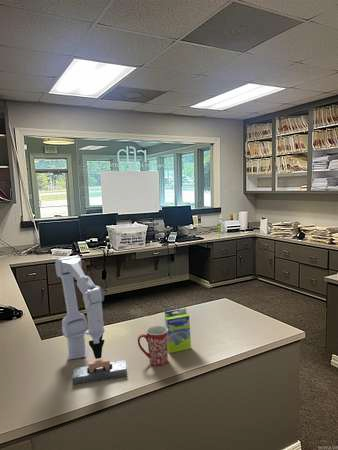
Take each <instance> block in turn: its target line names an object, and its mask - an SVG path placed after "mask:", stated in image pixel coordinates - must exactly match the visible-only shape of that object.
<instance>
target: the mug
mask: <svg viewBox="0 0 338 450" xmlns="http://www.w3.org/2000/svg"><path fill="white" fill-rule="evenodd" d="M145 333H146V334H145ZM145 333H144V334H139V335H138V337H137V345H138V347H139V349H140V351H142V353H143V354H144V355H145V356H146V357H147V358H148V359H149V363H150V364H151V365H152V366H155V367H156V366H157V367H158V366H159V367H160V366H163V365H165V364H167V363H168V361H169V360H168V359H169V358H168V356H169V355H168V354H169V352H168V335H167V334H168V328H166V326H164V325H154V326H153V325H152V326H150V327H148V328H146V330H145ZM141 338H144V339H145V340H146V342H147V347H148V352H147V351H146V350H145V349H144V347H142V345H141V341H140V340H141Z"/></svg>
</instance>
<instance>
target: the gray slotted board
mask: <svg viewBox="0 0 338 450" xmlns="http://www.w3.org/2000/svg"><path fill="white" fill-rule="evenodd" d="M127 376H128V371H127V364H126V360H125V359H123V360H117V361H110V370H105V367H101V368H95V369H94V372H93V373H90V372H89V367H88V365H85V366H80V367H74V368H73V372H72V376H71V378H72V379H71V380H72V386H73V385H74V386H78V384H80V385H86V384H91V383H95V382H96V381H97V382H102V380H103V381H108V380H113V379H119V378H124V377H127ZM90 382H91V383H90Z"/></svg>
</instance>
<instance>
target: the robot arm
mask: <svg viewBox="0 0 338 450" xmlns="http://www.w3.org/2000/svg"><path fill="white" fill-rule="evenodd" d="M54 264H55V265H54V266H55V273H56V276H57V278H60V279H61V284H62V290H63V296H64V302H65V309H66V315H65V316H64V317H63V318H62V320H61V331H62V335H63V336H64V338H67V339H66V340H67V347H68V348H67V349H68V355H67V360H68V361H70V360H76V359H82V357H83V358H86V357H87V355H88V346H86V342H85V341H86V340H85V339H86V338H85V335H89V337H91V339H92V340H89V341H88V345H89V346H90V348H91V350H92V353H93V356H94V359H95V360H100V359H101V358H102V353H103V347H104V344H105V339H103V335H104V333H105V331H106V330H105V327H104V315H103V313H104V312H103V304H102V303H103V302H104V300H105V294H104V291H103V289H102V287H101V286H98V285H96V284H95V283H94V282H93V280H92V278H91V277H90V276H89V275H86V274H85V272H84V270H83V268H82V265H83V263H82V258H81V257H80V255H78V254H76V255H71V256H66V257H60V258H59V257H58V258H56V259H55V263H54ZM74 279H75V280H76V286H77V288H78V289H79V291H80V293H81V294H82V300H83V304H84V308H85V310H86V315H85V314H84V313H81V312H79V307H78V301H77V300H78V299H77V293H76V288H75V281H74ZM86 317H87V319H86Z"/></svg>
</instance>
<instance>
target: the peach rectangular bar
mask: <svg viewBox="0 0 338 450" xmlns="http://www.w3.org/2000/svg"><path fill="white" fill-rule="evenodd" d="M110 362H111V360H110V357H109V358H102V359H101V358H99V359H95V360H89V361H88V363H87V364H88V365H87V366H88V367H89V372H90V373H93V372H94V369H95V368H101V367H105V370H110Z"/></svg>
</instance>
